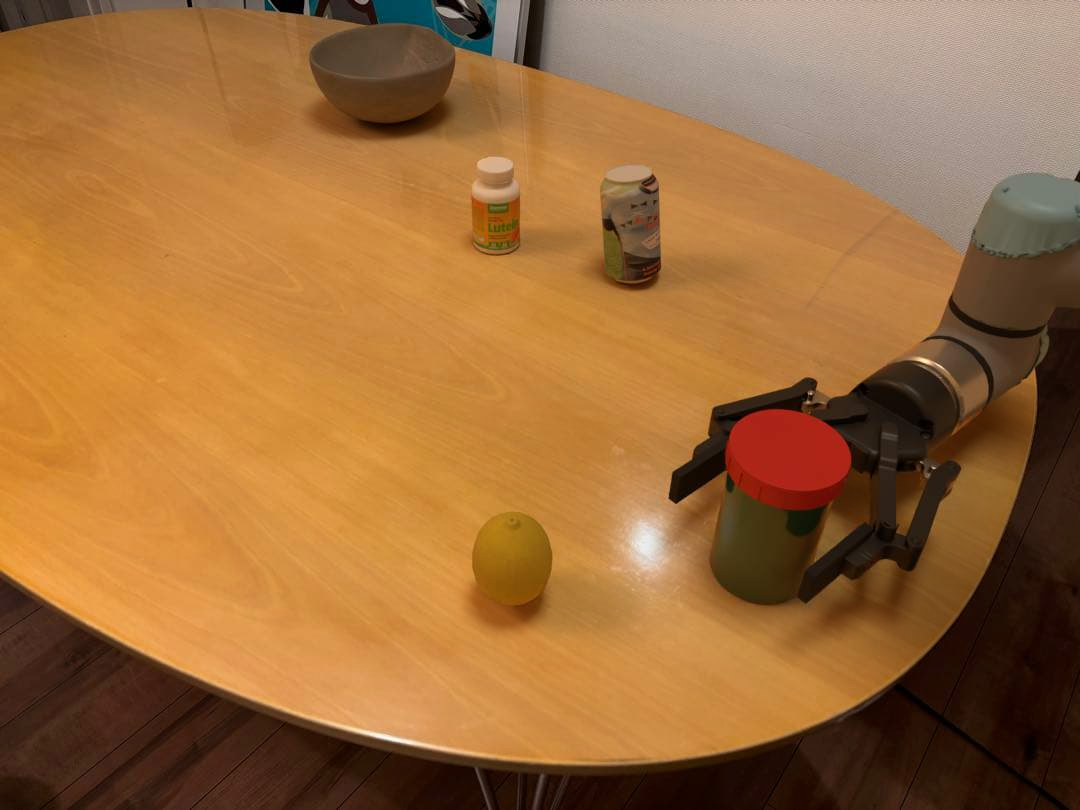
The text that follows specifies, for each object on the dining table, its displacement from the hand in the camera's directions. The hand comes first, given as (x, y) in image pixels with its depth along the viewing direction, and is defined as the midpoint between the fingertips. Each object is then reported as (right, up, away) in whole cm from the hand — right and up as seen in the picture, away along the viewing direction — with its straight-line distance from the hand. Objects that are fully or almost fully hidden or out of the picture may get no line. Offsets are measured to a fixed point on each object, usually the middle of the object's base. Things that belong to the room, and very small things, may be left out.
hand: (736, 535), depth 60 cm
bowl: (-35, +51, +70) cm, 93 cm away
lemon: (-15, -5, +4) cm, 16 cm away
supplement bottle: (-18, +27, +42) cm, 53 cm away
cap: (+3, +6, -1) cm, 7 cm away
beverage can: (-4, +23, +37) cm, 44 cm away
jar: (+3, -3, +6) cm, 7 cm away
